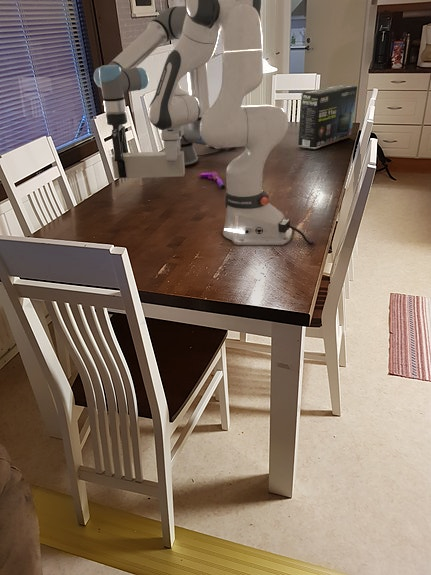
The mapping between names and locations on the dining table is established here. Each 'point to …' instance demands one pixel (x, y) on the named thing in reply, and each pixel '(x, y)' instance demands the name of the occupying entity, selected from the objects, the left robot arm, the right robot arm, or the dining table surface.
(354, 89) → the router box
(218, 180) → the handgun
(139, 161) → the bar
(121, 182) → the dining table surface
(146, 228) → the dining table surface
